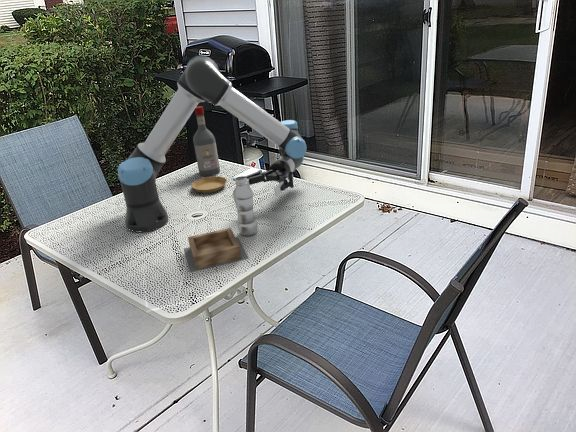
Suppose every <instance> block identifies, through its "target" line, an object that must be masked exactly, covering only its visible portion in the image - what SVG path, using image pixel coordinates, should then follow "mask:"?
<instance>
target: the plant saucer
mask: <svg viewBox="0 0 576 432" xmlns="http://www.w3.org/2000/svg"><path fill="white" fill-rule="evenodd" d="M227 181H228V179H227V178H226V177H223V176H220V175H219V176H217V175H211V176H204V177H202V178H199V179H197V180H194V181H193V182H192V183H191V188H192V189H194V190H195V191H196V192H198V193H201V194H210V193H211V194H212V193H215V192H218V191H220V190H221V189H223V188H224V187H225V185H226V184H227Z"/></svg>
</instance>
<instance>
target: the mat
mask: <svg viewBox="0 0 576 432" xmlns="http://www.w3.org/2000/svg"><path fill="white" fill-rule="evenodd" d="M235 238H236V240H237V242H238V244H239V246H240V250H241V257H242V259H238V260H234V261H229V262H225V263H221V264H217V265H212V266H208V267H204V268H200V269H196V267H195V264H194V260H193V257H192V253H191V250H190V246H189V247H185V248H183V251H184V255H185V259H186V263H187V265H188V271H189V273H195V272H198V271H203V270H206V269H212V268H215V267H220V266H224V265H228V264H233V263H237V262H242V261H245V260H249V259H250V258H249V256H248V254H247V252H246V250H245V248H244V247H243V244H242V243H241V241H240V238H239V237H238V236H235Z"/></svg>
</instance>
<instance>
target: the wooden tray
mask: <svg viewBox="0 0 576 432" xmlns="http://www.w3.org/2000/svg"><path fill="white" fill-rule="evenodd" d="M235 237H236V236H235V233H234V231H233V230H232V228H231V227H227V228H224V229H218V230H213V231H210V232H209V231H208V232H204V233H200V234H196V235H191V236H188V237H187V239H188V240H187V241H188V244H189V245H188V246H189V247H190V250H191V253H192V257H193V260H194V264H195V267H196V269H200V268H204V267H208V266H212V265H217V264H221V263H225V262H229V261H234V260H238V259H242V257H241V250H240V246H239V244H238V242H237V240H236V238H235Z"/></svg>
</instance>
